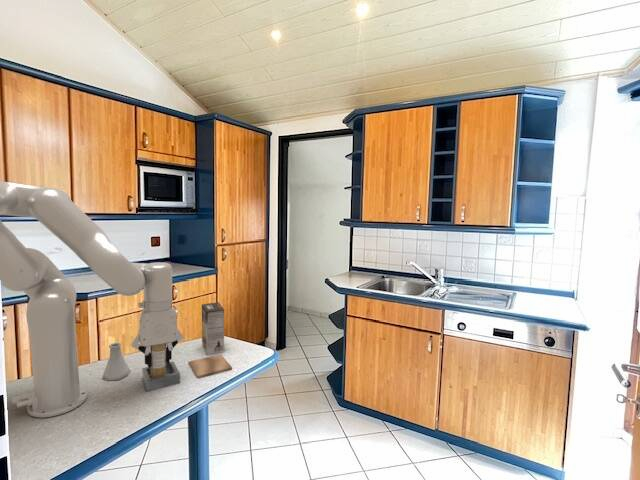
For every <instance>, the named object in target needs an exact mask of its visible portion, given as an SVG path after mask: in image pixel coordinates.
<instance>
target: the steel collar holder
mask: <svg viewBox="0 0 640 480" xmlns="http://www.w3.org/2000/svg"><path fill="white" fill-rule="evenodd" d="M141 369H142V370H141V371H142V374H141V375H142V376H141V377H142V380H143V383H144V387H145V391H146V392H151V391H155V390H158V389H159V390H160V389H161V388H165V387H169V386H173V385H174V386H175V385H178V384H181V373H180V371H179V369H178V367H177V365H176V363H175V361H170V364H167V363H166V375H165V376H161V377H157V378H151V377H150V374H151V367H150V368H148V366H147V367H142V368H141ZM169 373H170V374H169Z"/></svg>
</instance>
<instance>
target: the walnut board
mask: <svg viewBox="0 0 640 480" xmlns="http://www.w3.org/2000/svg"><path fill="white" fill-rule="evenodd" d="M187 362H188V363H187V364H188V365H189V366H188V367H190V369H191V371H192V373H193V375H194V376H195V377H196V379H197V378H198V379H201V377H202V378H206V377H209V376H213V375H217V374H220V372H221V373H224V371H225V372H228V371H232V370H233V367H232V366H231V364H230V363H229V362H228V361H227V360H226V358H225V357H224V356H223V355H222V354H220V353H219V354H215V355H211V356H208V357H202V358H199V359H198V358H197V359H195V360H189V361H187ZM205 376H206V377H205Z"/></svg>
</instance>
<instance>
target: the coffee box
mask: <svg viewBox="0 0 640 480" xmlns="http://www.w3.org/2000/svg"><path fill="white" fill-rule="evenodd" d="M201 343H202V344H201V345H202V348H203V349H204V352H205V354H206V355H207V356H208V355H209V356H210V355H214V354H215V355H216V354H220V353H223V352H225V308H224V307H223V305H221V303H220V302H219V301H217V302H210V303H203V304H201Z"/></svg>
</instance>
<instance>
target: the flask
mask: <svg viewBox="0 0 640 480" xmlns="http://www.w3.org/2000/svg"><path fill="white" fill-rule="evenodd" d="M121 346H122V342H112V343H110V344H109V345H108V348H109V356H108V361H107V364H106V367H105V369H104V371H103V375H102V377H101V378H102V379H103V380H106V381H108V382H109V381H119V380H121V379H123V378H126V377H128V376H129V374H130V372H131V369H130V367H129V365H128V363H127V362H126V360H125V358H124V356H123V353H122V348H121Z"/></svg>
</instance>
